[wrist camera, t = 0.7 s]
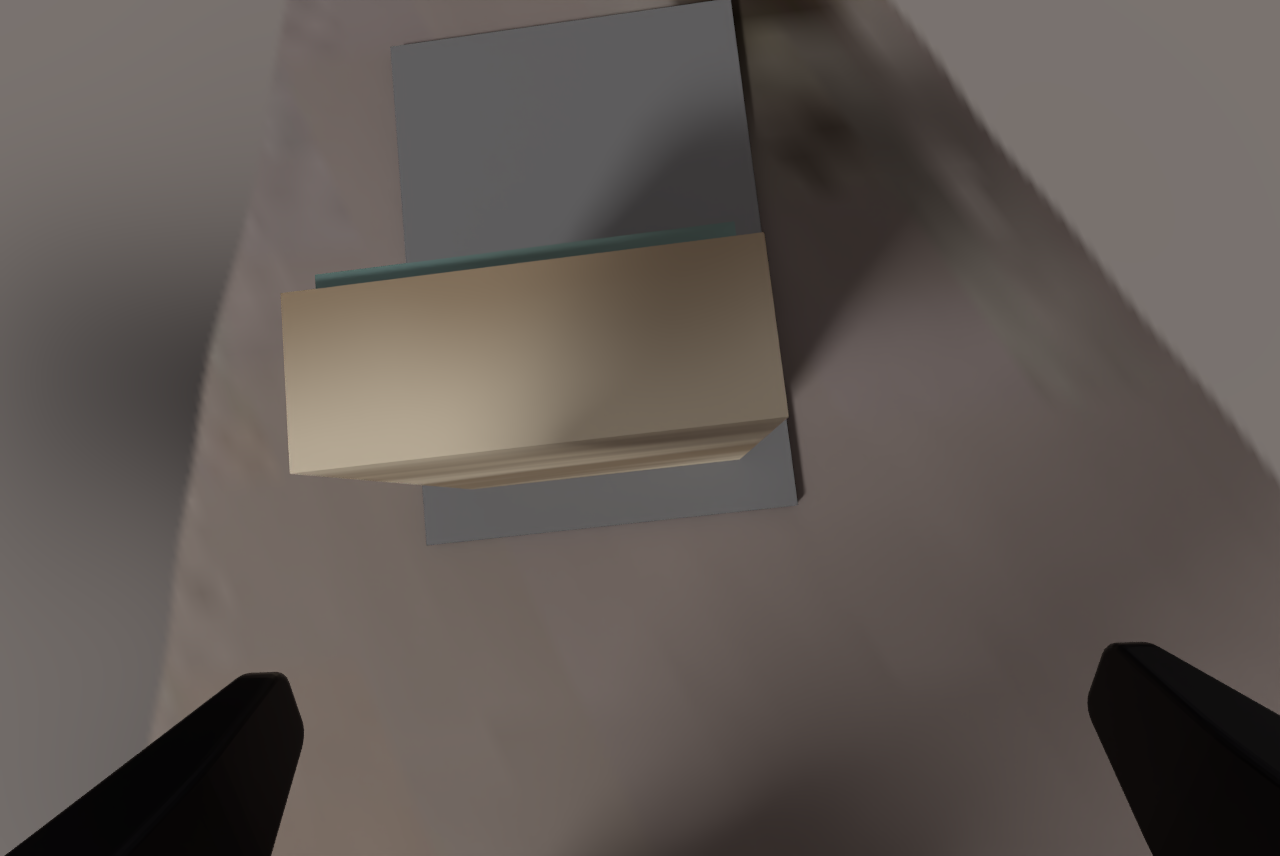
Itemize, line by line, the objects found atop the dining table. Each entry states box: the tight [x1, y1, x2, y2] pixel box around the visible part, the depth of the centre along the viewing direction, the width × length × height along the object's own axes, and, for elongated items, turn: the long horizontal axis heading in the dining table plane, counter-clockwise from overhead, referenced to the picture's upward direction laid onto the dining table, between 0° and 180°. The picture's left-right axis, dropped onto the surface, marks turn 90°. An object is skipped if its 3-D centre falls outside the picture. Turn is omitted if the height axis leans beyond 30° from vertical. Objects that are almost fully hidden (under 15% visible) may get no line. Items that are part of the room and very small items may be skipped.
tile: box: [281, 221, 789, 489], centre depth 17 cm, size 3×8×10 cm, turn 96°
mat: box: [390, 0, 798, 545], centre depth 22 cm, size 16×11×1 cm
